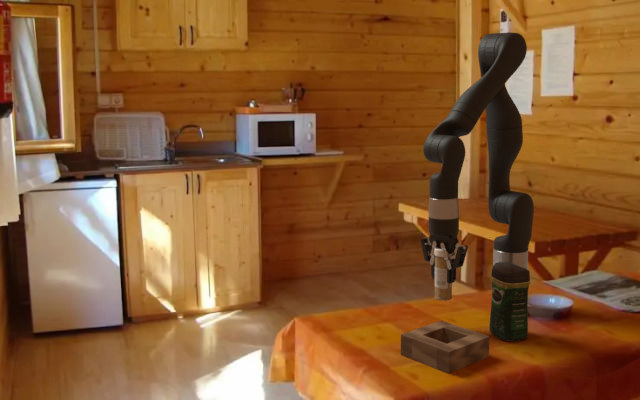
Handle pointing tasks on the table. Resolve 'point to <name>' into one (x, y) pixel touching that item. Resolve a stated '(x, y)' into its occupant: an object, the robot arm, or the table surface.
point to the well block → (445, 346)
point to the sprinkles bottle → (441, 277)
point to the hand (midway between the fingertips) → (443, 280)
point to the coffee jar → (509, 301)
